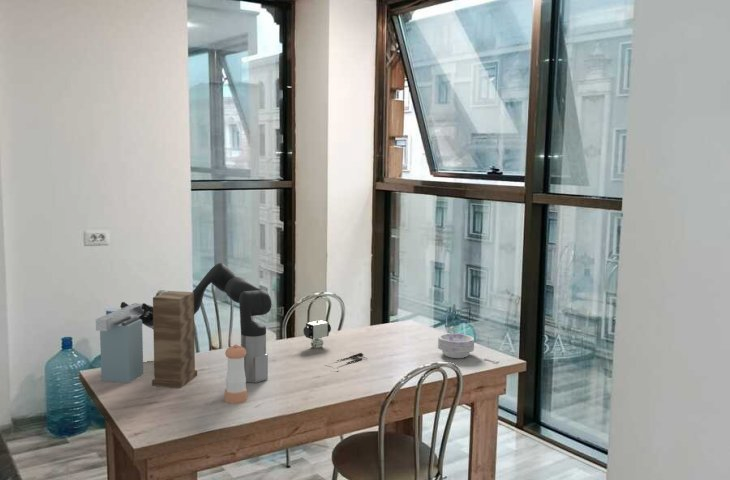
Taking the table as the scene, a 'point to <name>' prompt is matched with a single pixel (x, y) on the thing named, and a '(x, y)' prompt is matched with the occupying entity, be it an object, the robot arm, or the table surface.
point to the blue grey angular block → (122, 352)
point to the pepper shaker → (235, 375)
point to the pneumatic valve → (317, 332)
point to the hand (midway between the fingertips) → (132, 305)
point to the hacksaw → (355, 357)
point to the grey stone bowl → (456, 345)
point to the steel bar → (118, 317)
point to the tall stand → (173, 339)
